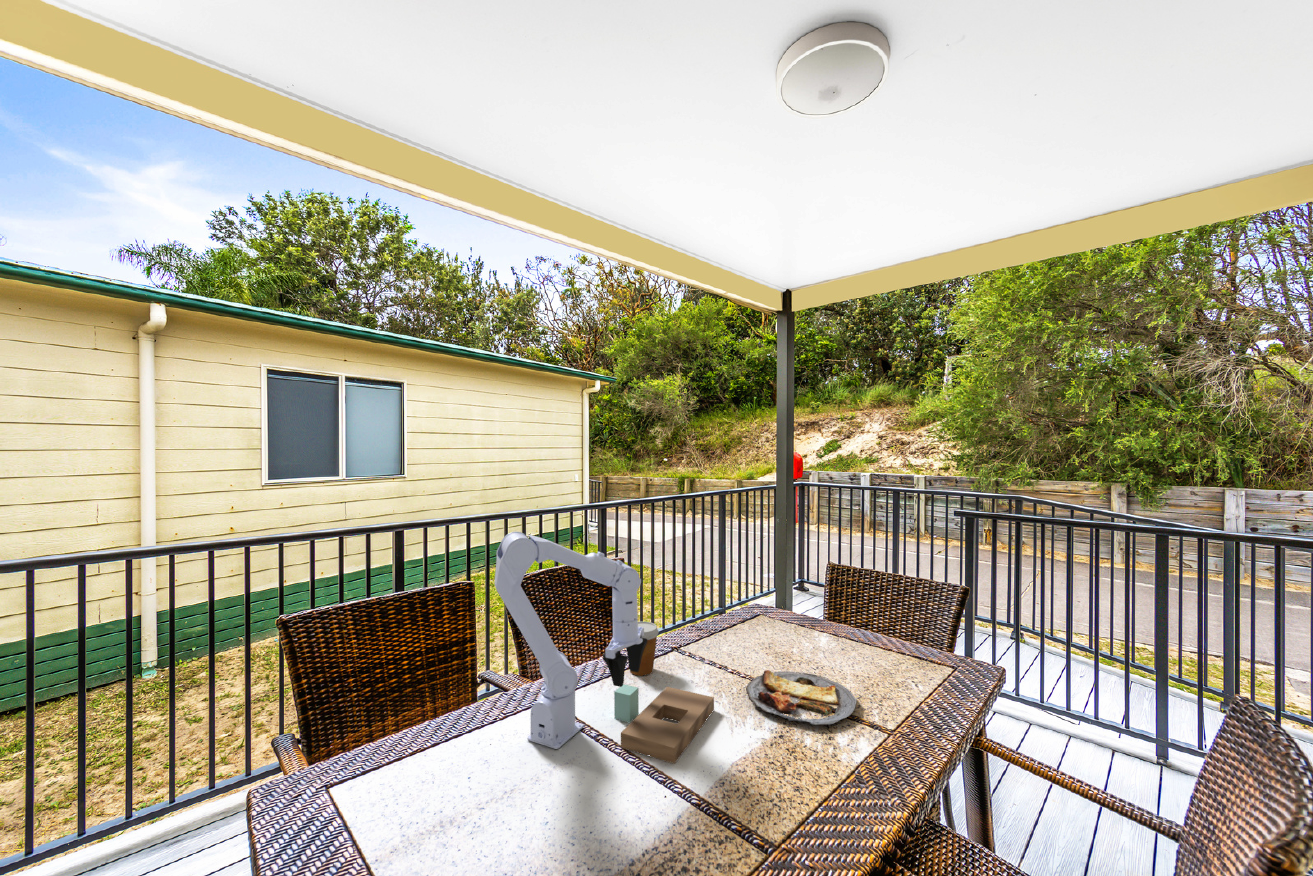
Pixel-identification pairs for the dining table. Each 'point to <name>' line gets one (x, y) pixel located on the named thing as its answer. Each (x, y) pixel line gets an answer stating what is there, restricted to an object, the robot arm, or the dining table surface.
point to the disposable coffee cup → (648, 648)
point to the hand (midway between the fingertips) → (626, 678)
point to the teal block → (626, 703)
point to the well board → (667, 724)
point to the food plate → (800, 696)
